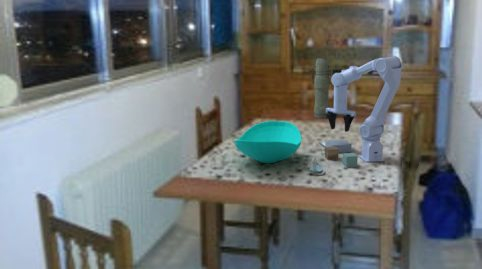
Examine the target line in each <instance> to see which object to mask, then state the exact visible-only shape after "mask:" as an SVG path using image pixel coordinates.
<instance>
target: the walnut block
mask: <svg viewBox="0 0 482 269" xmlns="http://www.w3.org/2000/svg"><path fill="white" fill-rule="evenodd" d="M324 158H325V159H326V160H327V161H331V160H339V153H338V148H337V147H335V146H332V147H324Z"/></svg>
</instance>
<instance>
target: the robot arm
mask: <svg viewBox="0 0 482 269" xmlns="http://www.w3.org/2000/svg"><path fill="white" fill-rule="evenodd" d="M403 67H404V65H403V63H402V60H401V59H400V58H399V56H397V55H396V56H395V55H393V56H388V57H379V58H375V59H373V60H370V61H368V62H367V63H365V64H363V65H361V66H357V65H351V66H349V67H348V68H347V69H342V70H341V72H335V73H334V74H332V78H331V77H330V82H331V81H332V84H331V85H333V107H329V108H326V113H328V114H326V116H327V118H326V119H327V120H328V123H329V126H330V130H334V129H336V119H337V115H343V116H342V118H343V121H344V132H345V133H347V132H349V131H350V128H351V124H352V122H353V120H354V119H355V117H356V111H355V110H350V109H348V88H349V84H350V83H353V82H356V81H357V80H360V79H361V77H362V75H365V74H367V73H369V72H372V71H375V72H377V73H378V75H379V76H380V77H381V79H382V81H383V82H384V85H383V87H382V89H381V92H380V94H379V96H378V98H377V101H376V102H375V105H374V107H373V109H372V111H371V114H370V116H368V117H367V118H365V120H364V122H363V123H362V124H361V125H360V126H359V128H358V132H359V135H360V137H361V140H362V142H361V143H362V146H361V147H362V148H361V154H358V157H359V158H360V159H362V160H363V161H364V162H366V163H369V162H371V163H372V162H384V161H385V159H384V158H383V154H384V153H383V151H384V148H383V144H382V142H381V137H382V134H384V131H385V124H386V121H385V120H384V119H385V117H386V115H387V112H388V110H389V108H390V107H391V104H392V102H393V100H394V98H395V95H396V94H397V92H398V90H399V88H400V85H401V80H402V78H401V76H402V69H403Z"/></svg>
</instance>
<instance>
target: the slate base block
mask: <svg viewBox="0 0 482 269" xmlns="http://www.w3.org/2000/svg"><path fill="white" fill-rule="evenodd" d="M325 142H326V144H325V147H332V146H335V147H337V148H338V154H341V153H342V154H345V153H352V143H351V142H349V141H348V140H346V139H330V140H329V139H328V140H327V139H326V140H325ZM325 147H324V148H325Z"/></svg>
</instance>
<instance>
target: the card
mask: <svg viewBox="0 0 482 269" xmlns="http://www.w3.org/2000/svg"><path fill="white" fill-rule="evenodd" d="M318 144H319V145H320V146H321V147H322V148H325V144H326V141H321V142H320V141H319V142H318Z"/></svg>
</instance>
